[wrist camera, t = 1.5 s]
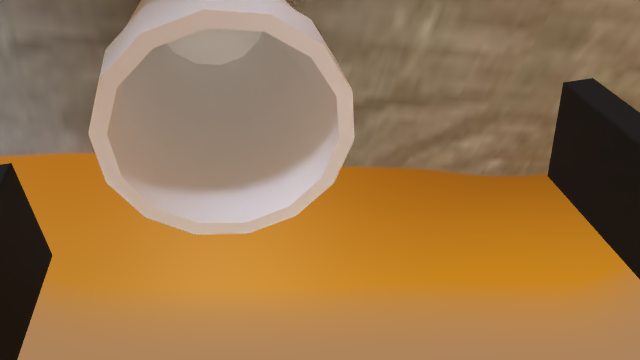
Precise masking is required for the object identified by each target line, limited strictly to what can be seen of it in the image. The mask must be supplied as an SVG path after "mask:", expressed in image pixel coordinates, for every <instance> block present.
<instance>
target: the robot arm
mask: <svg viewBox="0 0 640 360" xmlns="http://www.w3.org/2000/svg"><path fill="white" fill-rule="evenodd" d="M548 177H549V178H550V179H551V180H552V181H553V182H554V183H555V185H556V186H557V187H558V188H559V189H560V190H561V191H562V192H563V194H564V195H565V196H566V197H567V198H568V199H569V200H570V202H571V203H572V204H573V205H574V206H575V207H576V208H577V209H578V211H579V212H580V213H581V214H582V215H583V216H584V217H585V218H586V219H587V221H588V222H589V223H590V224H591V225H592V226H593V227H594V228H595V230H596V231H597V232H598V233H599V234H600V235H601V236H602V237H603V239H604V240H605V241H606V242H607V243H608V244H609V245H610V246H611V248H612V249H613V250H614V251H615V252H616V253H617V254H618V255H619V257H620V258H621V259H622V260H623V261H624V262H625V263H626V264H627V266H628V267H629V268H630V269H631V270H632V271H633V272H634V273H635V274H636V276H637V277H638V278H639V279H640V113H639V112H638V111H637V110H635V109H634V108H632V107H631V106H630V105H628V104H627V103H626V102H624V101H623V100H622V99H620V98H619V97H618V96H616V95H615V94H613V93H612V92H611V91H609V90H608V89H607V88H605V87H604V86H603V85H601V84H600V83H599V82H597V81H596V80H595V79H593V78H592V79H585V80H578V81H571V82H564V83H563V88H562V94H561V100H560V106H559V112H558V118H557V123H556V129H555V135H554V141H553V147H552V153H551V159H550V165H549V171H548ZM51 258H52V253H51V251H50V249H49V247H48V244H47V242H46V240H45V238H44V235H43V233H42V231H41V229H40V227H39V224H38V222H37V220H36V218H35V215H34V213H33V211H32V208H31V206H30V204H29V202H28V199H27V197H26V195H25V193H24V190H23V188H22V186H21V184H20V182H19V179H18V177H17V175H16V172H15V170H14V168H13V166H12V164H11V163H9V164H3V165H0V360H17V358H18V356H19V353H20V349H21V347H22V344H23V340H24V338H25V335H26V332H27V328H28V326H29V323H30V320H31V317H32V314H33V311H34V308H35V305H36V302H37V299H38V296H39V293H40V290H41V287H42V284H43V282H44V278H45V276H46V273H47V270H48V267H49V264H50V261H51Z"/></svg>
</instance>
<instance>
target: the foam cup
mask: <svg viewBox="0 0 640 360" xmlns="http://www.w3.org/2000/svg"><path fill="white" fill-rule="evenodd" d="M88 135H89V137H90V140H91V143H92V145H93V148H94V151H95V153H96V156H97V159H98V161H99V164H100V167H101V169H102V172H103V175H104V178H105V180H106V183H107V184H108V185H110V186H111V187H112V188H113V189H114V190H115V191H116V192H118V194H120V195H121V196H122V197H123V198H124V199H125V200H126V201H128V203H130V204H131V205H132V206H133V207H134V208H135V209H136V210H137V211H139V212H140V213H141V214H142V215H143V216H144V217H146V218H148V219H151V220H154V221H157V222H160V223H163V224H166V225H169V226H172V227H175V228H177V229H180V230H183V231H186V232H189V233H192V234H195V235H203V234H248V233H251V232H254V231H256V230H259V229H262V228H264V227H267V226H270V225H273V224H275V223H278V222H280V221H283V220H286V219H289V218H291V217H294V216H296V215H298V214H299V213H300V212H301V211H302V210H303V209H305V208H306V207H307V206H308V205H309V204H310V203H312V202H313V201H314V200H315V199H316V198H317V197H318V196H319V195H321V194H322V193H323V192H324V191H325V190H327V189H328V188H329V187H330V186H331V185H332V184H333V183H334V182H335V180H336V177H337V175H338V173H339V171H340V169H341V167H342V165H343V163H344V161H345V158H346V156H347V154H348V152H349V150H350V148H351V146H352V144H353V142H354V117H353V94H352V89H351V87H350V85H349V83H348V81H347V79H346V77H345V75H344V74H343V72H342V70H341V68H340V66H339V64H338V62H337V61H336V59H335V57H334V56H333V54H332V52H331V51H330V49H329V48H328V46H327V44H326V43H325V41H324V40H323V38H322V36H321V35H320V33H319V32H318V30H317V28H316V27H315V25H314V23H313V22H312V20H311V19H310V18H308V17H306V16H305V15H303V14H301V13H300V12H298V11H296V10H295V9H293V8H292V7H291V6H290V5H289V4H288V3H287V2H286V1H285V0H141V1H140V3H139V5H138V6H137V8H136V10H135V11H134V13H133V15H132V17H131V18H130V20H129V22H128V23H127V25H126V27H125V28H124V29H123V30H122V31H121V32H120V34H119V35H118V36H117V37H116V38H115V39H114V40H113V42H112V43H111V44H110V45H109V46H108V47H107V48H106V49H105V53H104V58H103V63H102V67H101V72H100V76H99V81H98V86H97V91H96V97H95V102H94V107H93V112H92V117H91V122H90V127H89V132H88Z"/></svg>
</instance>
